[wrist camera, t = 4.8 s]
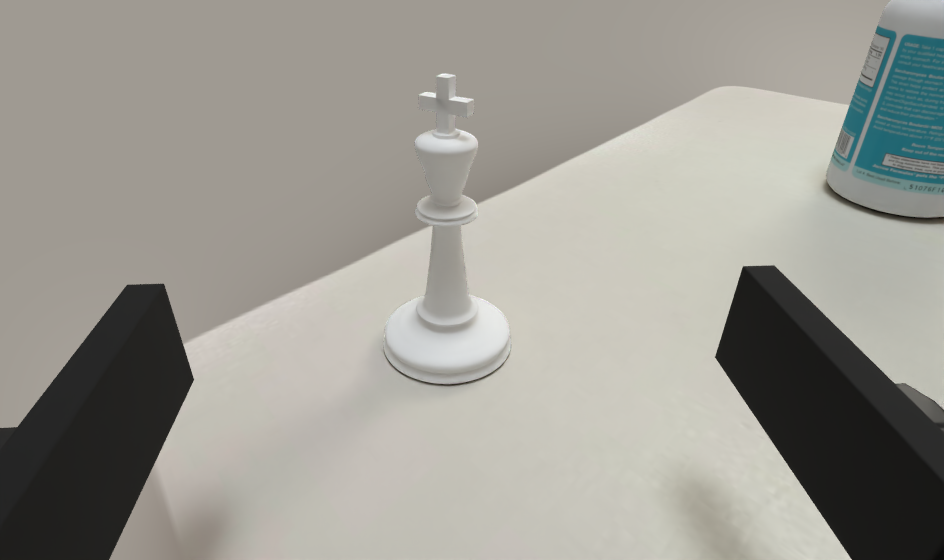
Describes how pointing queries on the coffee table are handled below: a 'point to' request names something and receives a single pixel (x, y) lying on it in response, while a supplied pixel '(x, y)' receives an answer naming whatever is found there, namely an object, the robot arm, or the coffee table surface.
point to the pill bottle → (897, 117)
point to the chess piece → (446, 263)
